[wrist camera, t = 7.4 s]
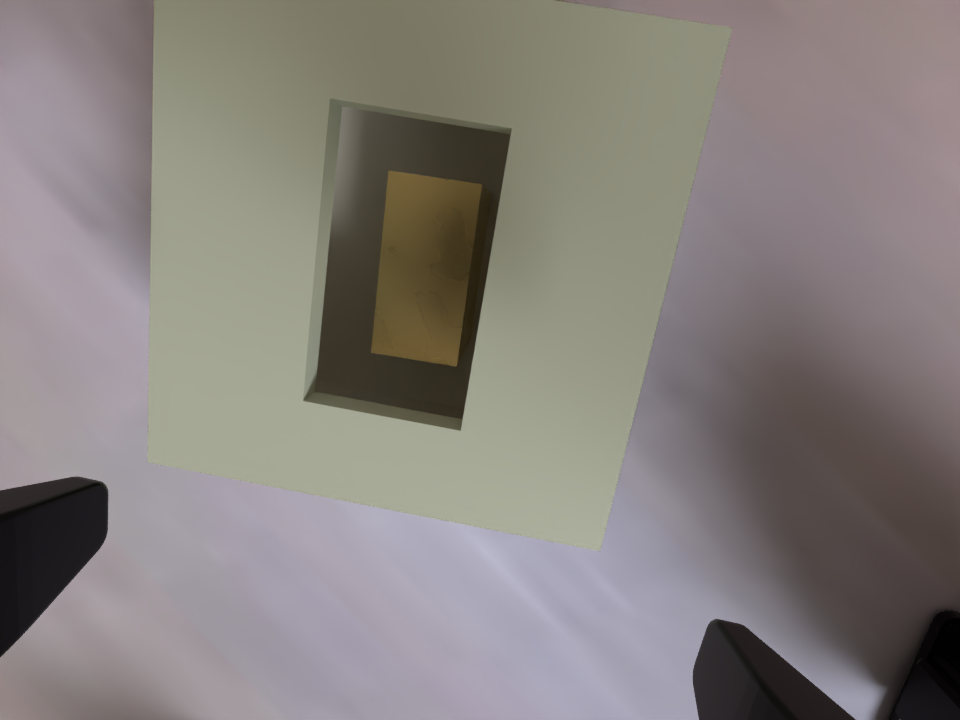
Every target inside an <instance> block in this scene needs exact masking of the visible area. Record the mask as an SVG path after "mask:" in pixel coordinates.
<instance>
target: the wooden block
mask: <svg viewBox="0 0 960 720" xmlns="http://www.w3.org/2000/svg"><path fill="white" fill-rule="evenodd" d="M490 201H491V193H490V192H489V191H488V190H487V189H486V188H485V187H484V186H483V185H482V184H477V183H471V182H464V181H457V180H450V179H443V178H436V177H429V176H422V175H416V174H409V173H402V172H395V171H389V172H388V182H387V192H386V203H385V213H384V223H383V234H382V244H381V254H380V265H379V275H378V285H377V296H376V306H375V316H374V327H373V337H372V347H371V353H376V354H382V355H388V356H395V357H401V358H407V359H413V360H419V361H426V362H432V363H438V364H444V365H450V366H456V367H457V365H458V363H459V361H460V359H461V357H462V355H463V353H464V351H465V349H466V347H467V345H468V343H469V341H470V339H471V334H472V327H473V320H474V313H475V306H476V299H477V292H478V285H479V278H480V271H481V264H482V257H483V250H484V243H485V236H486V229H487V222H488V215H489V208H490Z"/></svg>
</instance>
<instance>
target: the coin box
mask: <svg viewBox="0 0 960 720" xmlns="http://www.w3.org/2000/svg"><path fill="white" fill-rule="evenodd" d="M731 31H732V27H725V26H719V25H712V24H706V23H699V22H693V21H686V20H680V19H673V18H667V17H660V16H654V15H647V14H641V13H634V12H628V11H621V10H615V9H608V8H602V7H595V6H589V5H582V4H576V3H569V2H563V1H557V0H154V31H153V103H152V175H151V247H150V319H149V391H148V462H149V463H154V464H159V465H165V466H170V467H175V468H180V469H185V470H190V471H195V472H200V473H205V474H210V475H215V476H221V477H226V478H231V479H236V480H241V481H246V482H251V483H256V484H261V485H266V486H272V487H277V488H282V489H287V490H292V491H297V492H302V493H307V494H312V495H317V496H322V497H328V498H333V499H338V500H343V501H348V502H353V503H358V504H363V505H368V506H373V507H379V508H384V509H389V510H394V511H399V512H404V513H409V514H414V515H419V516H424V517H429V518H435V519H440V520H445V521H450V522H455V523H460V524H465V525H470V526H475V527H480V528H486V529H491V530H496V531H501V532H506V533H511V534H516V535H521V536H526V537H531V538H536V539H542V540H547V541H552V542H557V543H562V544H567V545H572V546H577V547H582V548H587V549H593V550H598V551H600V549H601V545H602V541H603V537H604V533H605V529H606V526H607V522H608V518H609V514H610V510H611V506H612V502H613V498H614V494H615V490H616V486H617V482H618V478H619V474H620V470H621V466H622V462H623V458H624V454H625V450H626V446H627V442H628V439H629V435H630V431H631V427H632V423H633V419H634V415H635V411H636V407H637V403H638V399H639V395H640V391H641V387H642V383H643V379H644V375H645V371H646V367H647V363H648V359H649V356H650V352H651V348H652V344H653V340H654V336H655V332H656V328H657V324H658V320H659V316H660V312H661V308H662V304H663V300H664V296H665V292H666V288H667V284H668V280H669V276H670V272H671V269H672V265H673V261H674V257H675V253H676V249H677V245H678V241H679V237H680V233H681V229H682V225H683V221H684V217H685V213H686V209H687V205H688V201H689V197H690V193H691V189H692V186H693V182H694V178H695V174H696V170H697V166H698V162H699V158H700V154H701V150H702V146H703V142H704V138H705V134H706V130H707V126H708V122H709V118H710V114H711V110H712V106H713V102H714V99H715V95H716V91H717V87H718V83H719V79H720V75H721V71H722V67H723V63H724V59H725V55H726V51H727V47H728V43H729V39H730V35H731ZM389 171H395V172H402V173H409V174H416V175H422V176H429V177H436V178H443V179H450V180H457V181H464V182H471V183H477V184H482V185H483V186H484V187H485V188H486V189H487V190H488V191H489V192H490V193H491V201H490V208H489V215H488V222H487V229H486V236H485V243H484V250H483V257H482V264H481V271H480V278H479V285H478V292H477V299H476V306H475V313H474V320H473V327H472V334H471V339H470V341H469V343H468V345H467V347H466V349H465V351H464V353H463V355H462V357H461V359H460V361H459V363H458V365H457V367H456V366H450V365H444V364H438V363H432V362H426V361H419V360H413V359H407V358H401V357H395V356H388V355H382V354H376V353H371V347H372V337H373V327H374V316H375V306H376V296H377V285H378V275H379V265H380V254H381V244H382V234H383V223H384V213H385V203H386V192H387V182H388V172H389Z"/></svg>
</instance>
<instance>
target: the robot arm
mask: <svg viewBox="0 0 960 720" xmlns="http://www.w3.org/2000/svg"><path fill="white" fill-rule="evenodd" d="M107 531H108V489H107V486H106V485H105V484H104V483H103V482H101V481H96V480H92V479H87V478H83V477H70V478H64V479H59V480H54V481H48V482H43V483H38V484H32V485H27V486H22V487H17V488H11V489H6V490H1V491H0V657H1V656H2V655H3V654H4V653H5V652H6V651H7V650H8V649H9V648H10V647H11V646H12V645H13V644H14V643H15V642H16V641H17V640H18V639H19V638H20V637H21V636H22V635H23V634H24V633H25V632H26V631H27V630H28V629H29V627H30V626H31V625H32V624H33V623H34V622H35V621H36V620H37V619H38V618H39V616H40V615H41V614H42V613H43V612H44V611H45V610H46V609H47V607H48V606H49V605H50V604H51V603H52V602H53V601H54V600H55V598H56V597H57V596H58V595H59V594H60V593H61V592H62V591H63V590H64V588H65V587H66V586H67V585H68V584H69V583H70V582H71V581H72V579H73V578H74V577H75V576H76V575H77V574H78V573H79V572H80V570H81V569H82V568H83V567H84V566H85V565H86V564H87V563H88V561H89V560H90V559H91V558H92V557H93V556H94V555H95V554H96V552H97V551H98V550H99V549H100V548H101V546H102V544H103V543H104V541H105V538H106V535H107ZM950 625H952V626H950ZM949 626H950V627H949ZM693 686H694V692H695V698H696V704H697V710H698V716H699V720H855V719H854V718H853V717H852V716H851V715H849V714H848V713H847V712H846V711H845V710H844V709H842V708H841V707H840V706H839V705H838V704H836V703H835V702H834V701H833V700H832V699H830V698H829V697H828V696H827V695H826V694H825V693H823V692H822V691H821V690H820V689H819V688H817V687H816V686H815V685H814V684H813V683H812V682H810V681H809V680H808V679H807V678H806V677H804V676H803V675H802V674H801V673H800V672H798V671H797V670H796V669H795V668H794V667H793V666H791V665H790V664H789V663H788V662H787V661H785V660H784V659H783V658H782V657H781V656H780V655H778V654H777V653H776V652H775V651H774V650H772V649H771V648H770V647H769V646H768V645H766V644H765V643H764V642H763V641H762V640H761V639H759V638H758V637H757V636H756V635H755V634H753V633H752V632H751V631H750V630H749V629H748V628H746V627H745V626H743V625H741V624H738V623H733V622H729V621H724V620H719V619H715V620H713V621H711V622H710V623H709V625H708V627H707V629H706V632H705V635H704V638H703V641H702V644H701V647H700V650H699V653H698V655H697V658H696V661H695V665H694V669H693ZM889 720H960V613H959V612H954V611H944V612H940V613H939V614H937V615H936V616H935V618H934V619H933V621H932V623H931V626H930V628H929V630H928V632H927V635H926V637H925V639H924V641H923V644H922V646H921V648H920V650H919V653H918V655H917V657H916V659H915V662H914V664H913V666H912V668H911V671H910V673H909V675H908V677H907V680H906V682H905V684H904V686H903V689H902V691H901V693H900V695H899V698H898V700H897V702H896V704H895V707H894V709H893V711H892V713H891V716H890V718H889Z"/></svg>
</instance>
